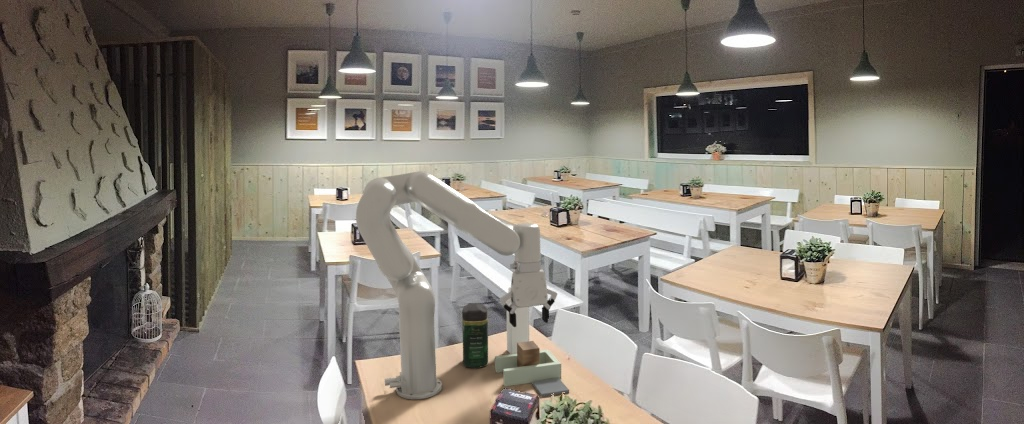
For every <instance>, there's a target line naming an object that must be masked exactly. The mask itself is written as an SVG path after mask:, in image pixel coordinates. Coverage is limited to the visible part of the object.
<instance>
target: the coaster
mask: <svg viewBox="0 0 1024 424" xmlns="http://www.w3.org/2000/svg"><path fill="white" fill-rule="evenodd" d="M531 384H532V386H533V387H534V389H535V390H536V392H537V393H538V395H539V396H540V397H541V398H543V397H549V396H552V395H551V394H553V393H554V394H557V395H562V394H561V393H562V392H565V393H564V394H569V393H570V389H569V388H568V387H567V386H566V384H565V383H564V382H563V380H561V378H560V379H559V378H553V379H546V380H539V381H532V383H531Z"/></svg>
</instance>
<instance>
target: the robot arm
mask: <svg viewBox="0 0 1024 424" xmlns="http://www.w3.org/2000/svg"><path fill="white" fill-rule="evenodd" d="M411 203H416V204H418V205H419V206H421V207H422V208H424V209H426V210H428V211H429V212H430V213H432V214H433V215H436V216H437V217H439V218H440V219H441V220H443V221H445V222H446V223H448V224H450V225H451V226H453V227H454V228H456V229H458V230H460V231H461V232H463V233H465V234H467V235H469V236H471V237H472V238H474V239H475V240H476V241H478V242H479V243H482V244H483V245H484V246H486V247H488V248H489V249H491V250H493V251H494V252H496V253H497V254H499V255H502V256H504V257H506V256H507V257H508V256H509V257H510V256H511V255H513V256H514V260H513V263H510V264H509V268H510V269H511V270H512V269H513V271H512V273H511V274H512V275H511V280H510V281H511V283H510V287H511V292H509V291H508V292H509V293H508V292H507V293H508V294H507V293H506V294H504V295H503V296H501V297H500V298H499V302H500V304H501V305H502V307H503V308H504V310H507V311H508V312H509V322H510V324H512V326H513V327H516V314H515V311H516V309H517V308H522V307H529V308H530V307H539V306H542V307H541V319H542V321H543V322H544V323H545V324H547V323H549V319H550V309H551V307H552V306H553V305H554V303H555V302H556V301H555V300H556V298H557V296H558V293H557V292H556V291H554V290H552V289H549V288H548V286H547V281H546V280H547V279H546V274H545V271H544V269H542V262H541V261H542V259H541V258H542V257H541V254H542V252H541V228H540V226H539V225H538V224H537V223H532V222H526V223H518V224H508V223H506V224H505V223H503V222H502V221H501V220H499V219H497V218H496V217H494V216H493V215H492V214H489V213H488V212H487V211H486V210H485V209H483V208H482V207H480V206H479V205H478V204H476V203H475V202H474V201H472V199H469V198H468V197H467V196H465V195H463V194H462V193H460V192H458V191H457V190H455V189H454V188H452V187H451V186H449V185H448V184H446V183H445V182H444V181H442V180H441V179H439V178H437V177H436V176H434V175H433V174H431V173H429V172H426V171H422V170H419V171H413V172H408V173H401V174H395V175H390V176H381V177H376V178H373V179H371V180H369V181H368V182H367V183H366V184H365V186H364V189H363V193H362V195H361V197H360V199H359V201H358V203H357V207H356V211H355V222H356V223H355V224H356V226H357V229H358V232H359V234H360V236H361V237H362V240H363V241H364V243H365V244H366V246H367V248H368V251H369V252H370V254H371V255H372V257H373V259H374V261H375V262H376V264H377V267H378V269H379V271H380V272H381V273H382V275H383V276H384V277H386V279H387V280H388V282H389V284H390V285H391V287H392V289H393V291H394V293H396V297H397V301H398V326H399V329H398V330H399V343H400V344H399V345H400V348H399V349H400V369H401V371H400V372H399V375H396V376H395V377H388V378H387V377H386V378H384V386H389V388H390V389H394V388H396V391H395V392H396V393H397V395H398V396H399V397H401V398H403V399H407V400H425V399H429V398H431V397H435V396H436V395H438V394H439V393H440V392H441V391H442V390H443V382H442V381H441V380H440V379H439V378H437V364H436V362H437V361H436V359H437V357H436V331H435V312H436V309H435V308H436V298H435V292H434V290H433V287H432V285H431V284H430V282H429V281H428V279H427V277H426V275H425V273H424V272H423V270H422V269H421V267H420V265H419V264H418V262H417V260H416V258H415V256H414V255H413V253H412V252H411V249H410V248H409V247H408V245H407V244H406V242H405V243H404V242H403V241H402V240H403V239H401V236H400V235H399V234H398V231H397V229H396V227H395V225H394V224H393V222H392V221H391V216H390V215H391V211H392V209H393V208H394V207H395V206H400V205H406V204H411ZM548 295H550V297H549V298H548ZM510 298H511V302H512V303H511V305H510V306H508V305H507V303H506V301H507V300H508V299H510Z"/></svg>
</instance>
